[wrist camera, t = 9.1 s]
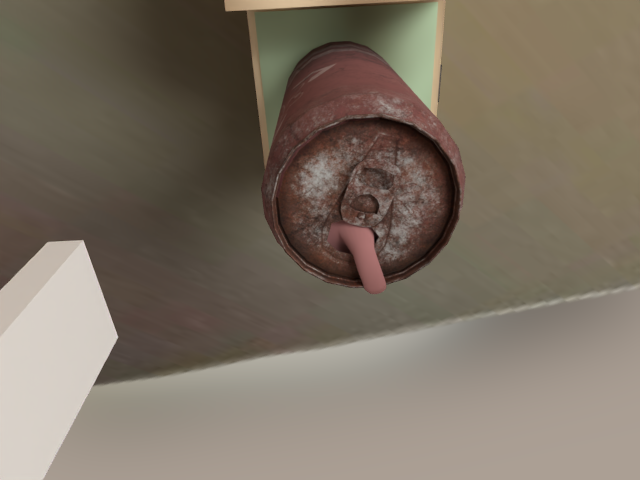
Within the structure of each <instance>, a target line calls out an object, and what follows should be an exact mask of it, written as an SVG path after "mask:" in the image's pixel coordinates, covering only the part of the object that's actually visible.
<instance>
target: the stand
mask: <svg viewBox="0 0 640 480" xmlns="http://www.w3.org/2000/svg"><path fill="white" fill-rule="evenodd" d="M445 1H446V0H224V2H225V10H226V11H240V10H247V18H248V27H249V35H250V44H251V53H252V61H253V70H254V78H255V87H256V96H257V104H258V113H259V121H260V130H261V139H262V147H263V156H264V164H265V169H266V164H267V160H268V156H269V152H270V148H271V144H272V140H273V136H274V133H275V129H276V125H277V121H278V117H279V113H280V109H281V106H282V102H283V98H284V94H285V90H286V86H287V82H288V78H289V77H290V75H291V73H292V72H293V70H294V68H295V66H296V65H297V63H298V62H299V61H300V60H301V59H302V58H303V57H304V56H306V55H307V54H308V53H309V52H310V51H311V50H312V49H315V48H317V47H319V46H322V45H324V44H327V43H329V42H339V41H351V42H354V43H358V44H361V45H365V46H368V47H369V48H370V49H372V50H373V51H374V52H376V53H377V54H379V55H380V56H381V57H383V59H384V60H385V61H386V62H387V63H388V64H389V65H390V66H391V67H392V69H393V70H394V71H395V72H396V73H397V74H398V75H399V76H400V77H401V78H402V80H403V81H404V82H405V83H406V84H407V85H408V86H409V87H410V88H411V90H412V91H413V92H414V93H415V94H416V95H417V96H418V97H419V98H420V100H421V101H422V102H423V103H424V104H425V105H426V106H427V107H428V108H429V110H430V111H431V112H432V113H433V114H434V115H435V116H437V103H438V102H439V94H440V82H441V69H442V65H441V52H442V40H443V27H444V14H445Z"/></svg>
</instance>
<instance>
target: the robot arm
mask: <svg viewBox="0 0 640 480" xmlns="http://www.w3.org/2000/svg"><path fill="white" fill-rule="evenodd" d="M117 338H118V336H117V333H116V330H115V327H114V324H113V322H112V319H111V316H110V313H109V311H108V308H107V305H106V302H105V299H104V297H103V294H102V291H101V288H100V285H99V283H98V280H97V277H96V274H95V272H94V269H93V266H92V263H91V260H90V258H89V255H88V252H87V249H86V246H85V244H84V241H83V240H78V241H59V242H47V243H46V244H45V245H44V246H43V248H42V249H41V250H40V251H39V252H38V253H37V254H36V255H35V256H34V257H33V258H32V259H31V260H30V261H29V262H28V263H27V264H26V265H25V266H24V267H23V268H22V269H21V270H20V271H19V272H18V273H17V274H16V275H15V276H14V277H13V278H12V279H11V280H10V281H9V282H8V283H7V284H6V285H5V286H4V287H3V288H2V289H1V290H0V480H43V479H44V477H45V475H46V473H47V471H48V469H49V467H50V465H51V463H52V461H53V460H54V458H55V456H56V454H57V452H58V450H59V448H60V446H61V445H62V443H63V441H64V439H65V437H66V435H67V433H68V431H69V429H70V427H71V426H72V424H73V422H74V420H75V418H76V416H77V414H78V412H79V410H80V409H81V407H82V405H83V403H84V401H85V399H86V397H87V395H88V393H89V391H90V390H91V388H92V386H93V384H94V382H95V380H96V378H97V376H98V374H99V373H100V371H101V369H102V367H103V365H104V363H105V361H106V359H107V357H108V355H109V354H110V352H111V350H112V348H113V346H114V344H115V342H116V340H117Z"/></svg>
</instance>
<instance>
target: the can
mask: <svg viewBox="0 0 640 480" xmlns="http://www.w3.org/2000/svg"><path fill="white" fill-rule="evenodd" d="M465 178H466V177H465V173H464V169H463V165H462V160H461V156H460V152H459V148H458V147H457V145H456V144H455V142H454V141H453V139H452V138H451V136H450V135H449V133H448V132H447V130H446V129H445V127H444V126H443V125H442V123H441V122H440V121H439V119H438V118H437V117H436V116H435V115H434V114H433V113H432V112H431V111H430V110H429V108H428V107H427V106H426V105H425V104H424V103H423V102H422V101H421V100H420V98H419V97H418V96H417V95H416V94H415V93H414V92H413V91H412V90H411V88H410V87H409V86H408V85H407V84H406V83H405V82H404V81H403V80H402V78H401V77H400V76H399V75H398V74H397V73H396V72H395V71H394V70H393V69H392V67H391V66H390V65H389V64H388V63H387V62H386V61H385V60H384V59H383V57H381V56H380V55H379V54H377V53H376V52H374V51H373V50H372V49H370V48H369V47H368V46H365V45H361V44H358V43H354V42H351V41H339V42H329V43H327V44H324V45H322V46H319V47H317V48H315V49H312V50H311V51H310V52H309V53H308V54H307V55H306V56H304V57H303V58H302V59H301V60H300V61H299V62H298V63H297V65H296V66H295V68H294V70H293V72H292V73H291V75H290V77H289V78H288V82H287V86H286V90H285V94H284V98H283V102H282V106H281V109H280V113H279V117H278V121H277V125H276V129H275V133H274V136H273V140H272V144H271V148H270V152H269V156H268V160H267V164H266V169H265V173H264V178H263V183H262V187H261V191H262V199H263V207H264V214H265V218H266V220H267V222H268V224H269V227H270V229H271V231H272V233H273V235H274V237H275V239H276V241H277V242H278V243H279V244H280V245H281V246H282V247H283V248H284V251H285V252H286V253H287V254H288V255H289V256H290V257H291V258H292V259H293V260H294V261H295V262H296V263H297V264H298V265H299V266H300V267H301V268H302V269H303V270H304V271H306V272H308V273H310V274H311V275H313V276H315V277H317V278H319V279H321V280H323V281H325V282H327V283H331V284H336V285H340V286H345V287H350V288H364V289H365V290H366V291H367V292H369V293H370V294H378V293H381V292H383V291H384V290H385V289H386V285H387V284H390V283H393V282H397V281H400V280H403V279H406V278H408V277H409V276H411V275H412V274H414V273H416V272H417V271H419V270H420V269H422V268H423V267H425V266H427V265H428V264H430V262H431V261H432V260H433V259H434V258H435V257H436V256H437V255H438V254H439V253H440V251H441V250H442V249H443V248H444V247H445V246H446V245H447V244H448V242H449V239H450V237H451V235H452V233H453V231H454V229H455V227H456V225H457V222H458V220H459V215H460V211H461V208H462V205H463V196H464V187H465Z"/></svg>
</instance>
